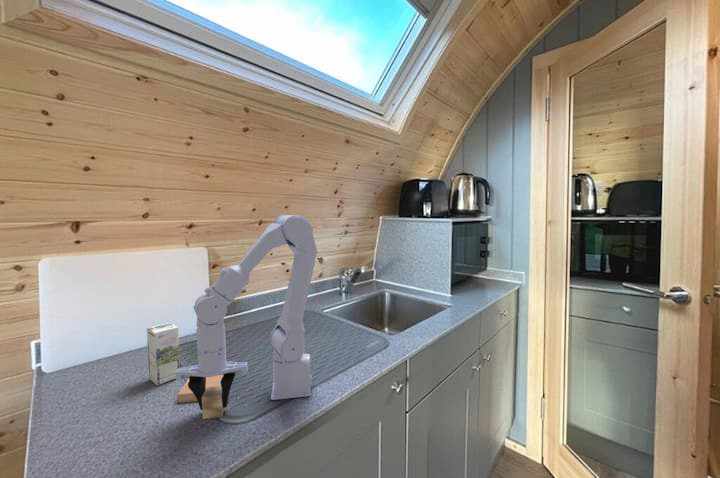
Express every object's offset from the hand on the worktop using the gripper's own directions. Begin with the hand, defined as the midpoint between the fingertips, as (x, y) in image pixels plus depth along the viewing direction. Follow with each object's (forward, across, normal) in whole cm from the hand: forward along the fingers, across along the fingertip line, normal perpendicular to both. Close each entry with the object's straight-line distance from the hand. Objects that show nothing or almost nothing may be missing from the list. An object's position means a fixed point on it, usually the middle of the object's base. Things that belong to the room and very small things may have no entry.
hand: (214, 406), depth 73 cm
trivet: (+2, +5, -10) cm, 11 cm away
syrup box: (+2, +17, -18) cm, 25 cm away
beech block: (+2, 0, 0) cm, 2 cm away
